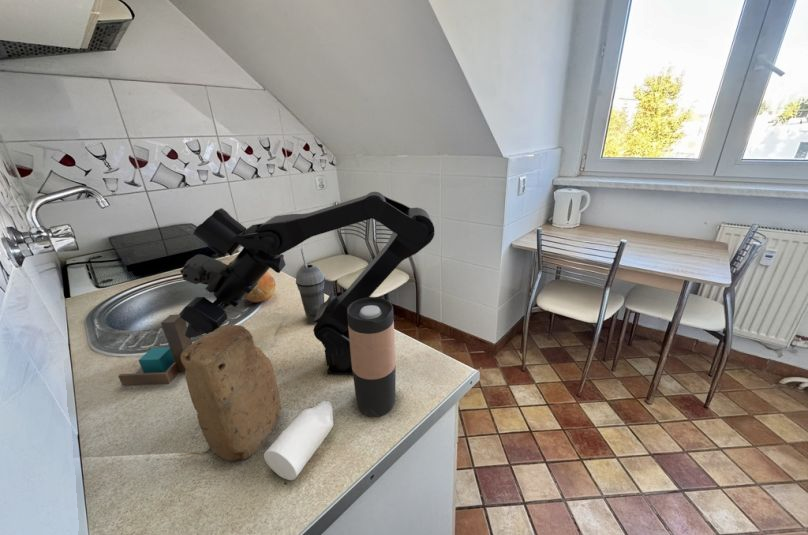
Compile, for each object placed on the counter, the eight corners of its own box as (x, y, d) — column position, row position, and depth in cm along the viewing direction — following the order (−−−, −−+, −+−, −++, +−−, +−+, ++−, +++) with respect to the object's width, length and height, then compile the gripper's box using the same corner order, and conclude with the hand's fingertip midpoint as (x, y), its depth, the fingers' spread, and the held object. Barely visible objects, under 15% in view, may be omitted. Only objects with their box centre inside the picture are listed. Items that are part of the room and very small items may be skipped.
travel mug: (363, 384, 64) (355, 295, 56) (400, 389, 62) (398, 298, 55) (349, 414, 57) (338, 318, 49) (391, 421, 56) (387, 322, 48)
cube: (176, 362, 70) (171, 347, 68) (164, 375, 66) (158, 359, 65) (157, 362, 70) (151, 347, 68) (144, 375, 66) (138, 360, 65)
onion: (244, 312, 91) (237, 279, 87) (241, 297, 99) (234, 267, 95) (280, 303, 95) (274, 272, 91) (275, 290, 103) (269, 261, 99)
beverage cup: (322, 327, 83) (313, 255, 75) (296, 325, 84) (284, 253, 76) (334, 313, 89) (326, 245, 81) (309, 311, 90) (299, 243, 83)
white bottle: (345, 421, 56) (342, 397, 53) (298, 486, 46) (292, 459, 43) (317, 410, 58) (313, 386, 56) (267, 470, 48) (259, 443, 46)
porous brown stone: (238, 473, 47) (203, 365, 40) (205, 454, 50) (166, 350, 43) (291, 418, 56) (270, 321, 49) (260, 405, 59) (236, 311, 52)
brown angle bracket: (207, 356, 73) (191, 306, 68) (183, 386, 64) (163, 331, 59) (154, 358, 72) (135, 308, 67) (123, 388, 64) (98, 333, 59)
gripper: (231, 228, 66) (191, 278, 70) (175, 262, 49) (126, 325, 53) (276, 262, 70) (235, 308, 74) (238, 305, 52) (188, 362, 56)
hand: (201, 323), depth 64 cm, fingers open, 9 cm apart
